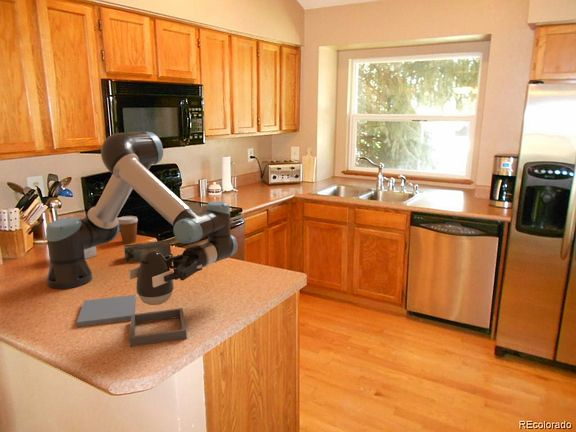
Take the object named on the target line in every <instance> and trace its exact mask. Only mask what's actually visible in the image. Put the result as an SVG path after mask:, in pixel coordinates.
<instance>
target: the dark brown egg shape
mask: <svg viewBox="0 0 576 432" xmlns="http://www.w3.org/2000/svg"><path fill="white" fill-rule="evenodd" d="M138 262H139V263H140V264H139V266H140V267H139V271H138V276H137V277H136V285H135V286H136V294H137V295H138V297H139V299H140V300H141V302H142V303H144V304H146V305H149V306H158V305H159V306H160V305H162V304H164V303H166V302H168V301H169V300H170V298H171V297H172V294H173V291H174V289H175V284H174V280H171V281H169V282H167V283H164V284H162V285H159V286H157V287H153V283H152V277H154V276H157V275H160V274H162V273H165V272H167V271H170V270H171V269H170V268H169V266H168V264H167V262H166V260H165V258H164V256H163V255H162V254H161V253H160V252H158V251H149V252H147V253H146V254H145V255H144V257H143V259H140V260H139V261H138Z"/></svg>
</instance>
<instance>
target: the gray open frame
mask: <svg viewBox="0 0 576 432" xmlns="http://www.w3.org/2000/svg"><path fill="white" fill-rule="evenodd" d="M175 318H177V319H178V318H179V320H180V328H181V329H175V330H167V331H160V332H153V333H145V334H140V335H138V334H137V335H136V324H139V323H145V322H153V321H161V320H169V319H175ZM128 338H129V347H130V348H132V347H139V346H145V345H151V344H152V345H153V344H159V343H166V342H172V341H179V340H186V339H187V328H186V321H185V314H184V308H183V307H180V308H173V309H172V308H171V309H163V310H156V311H150V312H149V311H147V312H141V313H140V312H139V313H135V314H132V315H131V320H130V328H129V337H128Z"/></svg>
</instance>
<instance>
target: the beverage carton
mask: <svg viewBox="0 0 576 432" xmlns="http://www.w3.org/2000/svg"><path fill="white" fill-rule="evenodd" d="M123 247H124V248H123V251H124V257H125V263H133V262H134V263H135V262H139V260H140V259H143V257H144V255H145V254H146V253H147V252H149V251H158V252H160V253H161V254H162V255H163V256H166V255H168V254H172V250H171V244H170V242H169V240H168V239H165V240H164V239H163V240H157V241H150V242H143V243H134V244H133V243H131V244H125V245H124V246H123Z"/></svg>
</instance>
